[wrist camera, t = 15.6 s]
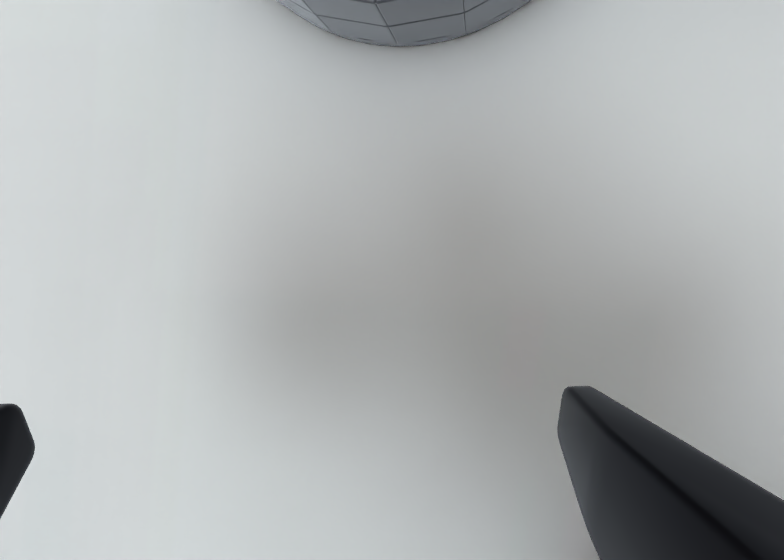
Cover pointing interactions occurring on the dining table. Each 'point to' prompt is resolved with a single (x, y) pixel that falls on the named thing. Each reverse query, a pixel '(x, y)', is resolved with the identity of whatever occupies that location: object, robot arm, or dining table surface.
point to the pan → (402, 18)
